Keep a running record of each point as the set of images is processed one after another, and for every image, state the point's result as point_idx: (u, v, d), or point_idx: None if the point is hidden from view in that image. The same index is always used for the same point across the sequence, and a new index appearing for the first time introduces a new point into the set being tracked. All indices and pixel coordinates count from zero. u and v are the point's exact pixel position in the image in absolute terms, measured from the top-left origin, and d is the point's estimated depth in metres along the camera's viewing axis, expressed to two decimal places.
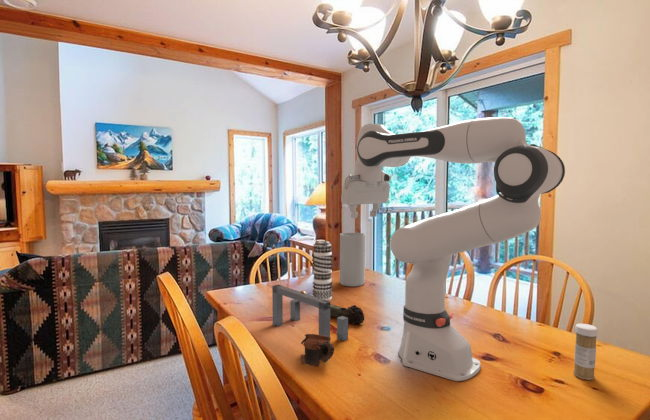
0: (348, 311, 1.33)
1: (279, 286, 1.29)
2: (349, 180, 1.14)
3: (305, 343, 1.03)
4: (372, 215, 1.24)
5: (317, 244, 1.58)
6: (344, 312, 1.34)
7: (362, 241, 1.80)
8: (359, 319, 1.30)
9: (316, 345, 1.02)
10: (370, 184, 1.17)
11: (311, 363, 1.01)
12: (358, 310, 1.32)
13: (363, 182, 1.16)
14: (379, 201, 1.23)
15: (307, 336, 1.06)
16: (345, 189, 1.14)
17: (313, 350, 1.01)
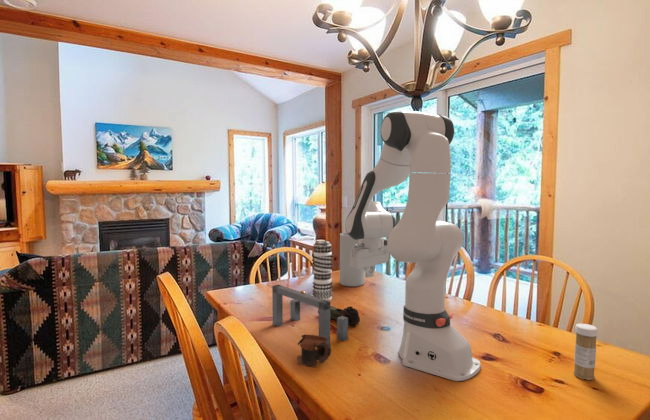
0: (343, 312, 1.32)
1: (279, 286, 1.29)
2: (355, 249, 1.39)
3: (302, 344, 1.03)
4: None
5: (317, 244, 1.58)
6: (340, 313, 1.33)
7: None
8: (354, 320, 1.28)
9: (313, 346, 1.02)
10: (372, 250, 1.42)
11: (308, 364, 1.00)
12: (353, 311, 1.31)
13: (367, 249, 1.41)
14: (381, 262, 1.48)
15: (304, 337, 1.05)
16: (352, 257, 1.39)
17: (310, 351, 1.01)
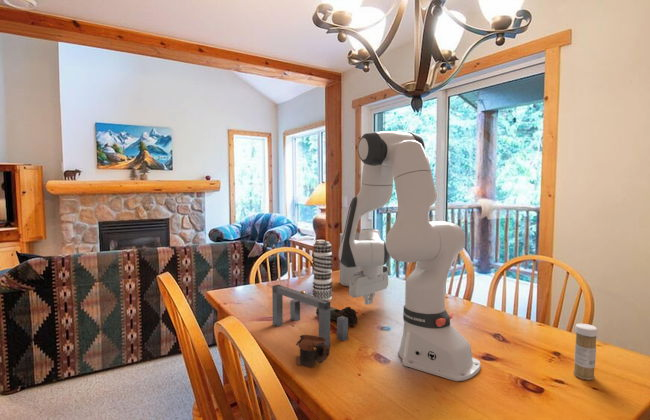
0: (341, 313, 1.31)
1: (279, 286, 1.29)
2: (354, 277, 1.39)
3: (300, 344, 1.03)
4: None
5: (317, 244, 1.58)
6: (338, 314, 1.32)
7: None
8: (352, 321, 1.28)
9: (311, 346, 1.01)
10: (372, 278, 1.42)
11: (306, 364, 1.00)
12: (351, 312, 1.30)
13: (366, 277, 1.41)
14: (380, 288, 1.48)
15: (302, 337, 1.05)
16: (351, 285, 1.39)
17: (308, 351, 1.01)
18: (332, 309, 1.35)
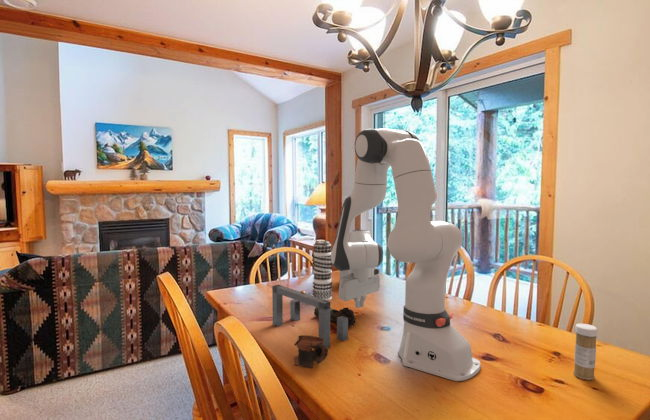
0: (339, 313, 1.31)
1: (279, 286, 1.29)
2: (344, 280, 1.35)
3: (299, 344, 1.02)
4: None
5: (317, 244, 1.58)
6: (335, 314, 1.31)
7: None
8: (350, 322, 1.27)
9: (310, 346, 1.01)
10: (362, 280, 1.38)
11: (305, 365, 1.00)
12: (349, 312, 1.30)
13: (356, 279, 1.38)
14: (371, 291, 1.44)
15: (300, 337, 1.05)
16: (341, 288, 1.35)
17: (307, 351, 1.01)
18: (330, 310, 1.35)
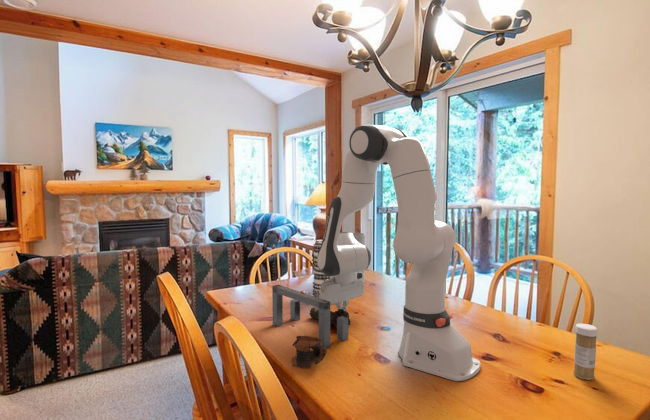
0: (334, 315, 1.29)
1: (279, 286, 1.29)
2: (325, 285, 1.28)
3: (296, 345, 1.02)
4: None
5: (317, 244, 1.58)
6: (330, 316, 1.30)
7: (362, 241, 1.80)
8: None
9: (308, 347, 1.01)
10: (344, 285, 1.32)
11: (303, 365, 0.99)
12: (344, 314, 1.28)
13: (338, 284, 1.31)
14: (355, 296, 1.37)
15: (298, 338, 1.04)
16: (322, 293, 1.29)
17: (305, 352, 1.00)
18: None
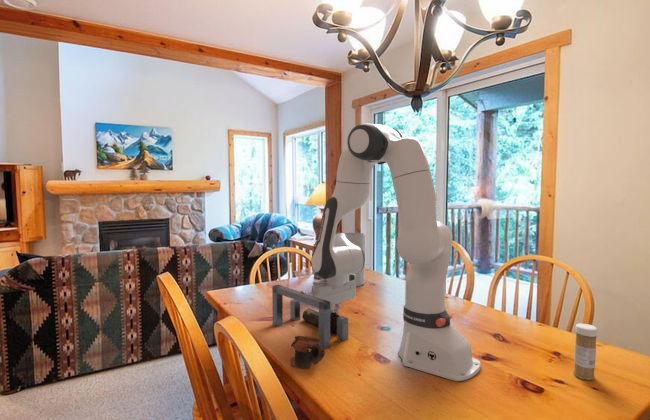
0: None
1: (279, 286, 1.29)
2: (316, 287, 1.25)
3: (295, 345, 1.02)
4: None
5: None
6: None
7: (362, 241, 1.80)
8: (335, 328, 1.22)
9: (306, 347, 1.01)
10: (336, 287, 1.29)
11: (301, 366, 0.99)
12: (336, 318, 1.24)
13: (329, 286, 1.28)
14: (347, 298, 1.35)
15: (297, 338, 1.04)
16: (313, 295, 1.26)
17: (303, 352, 1.00)
18: (317, 314, 1.30)
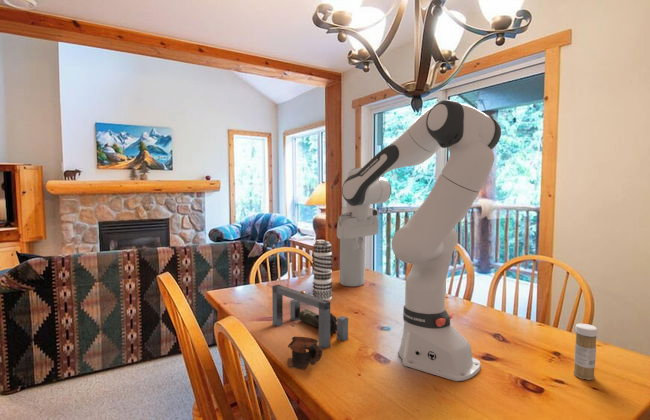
0: None
1: (279, 286, 1.29)
2: (342, 218, 1.31)
3: (292, 346, 1.01)
4: None
5: (317, 244, 1.58)
6: (318, 320, 1.26)
7: None
8: (330, 329, 1.21)
9: (304, 348, 1.00)
10: (361, 219, 1.34)
11: (299, 366, 0.99)
12: (331, 319, 1.23)
13: (354, 218, 1.34)
14: (370, 233, 1.40)
15: (294, 339, 1.04)
16: (339, 226, 1.31)
17: (301, 353, 1.00)
18: (313, 315, 1.29)
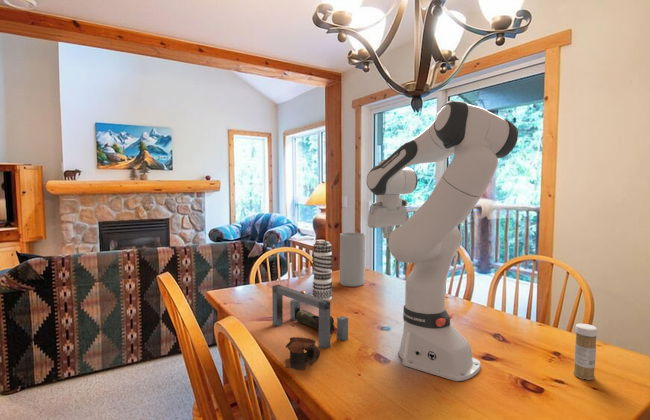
0: (318, 320, 1.24)
1: (279, 286, 1.29)
2: (373, 207, 1.35)
3: (290, 347, 1.01)
4: None
5: (317, 244, 1.58)
6: (314, 320, 1.25)
7: (362, 241, 1.80)
8: None
9: (301, 348, 1.00)
10: (391, 209, 1.39)
11: (297, 367, 0.99)
12: None
13: (385, 208, 1.38)
14: (399, 223, 1.44)
15: (292, 339, 1.03)
16: (370, 215, 1.35)
17: (298, 354, 0.99)
18: (310, 315, 1.29)
